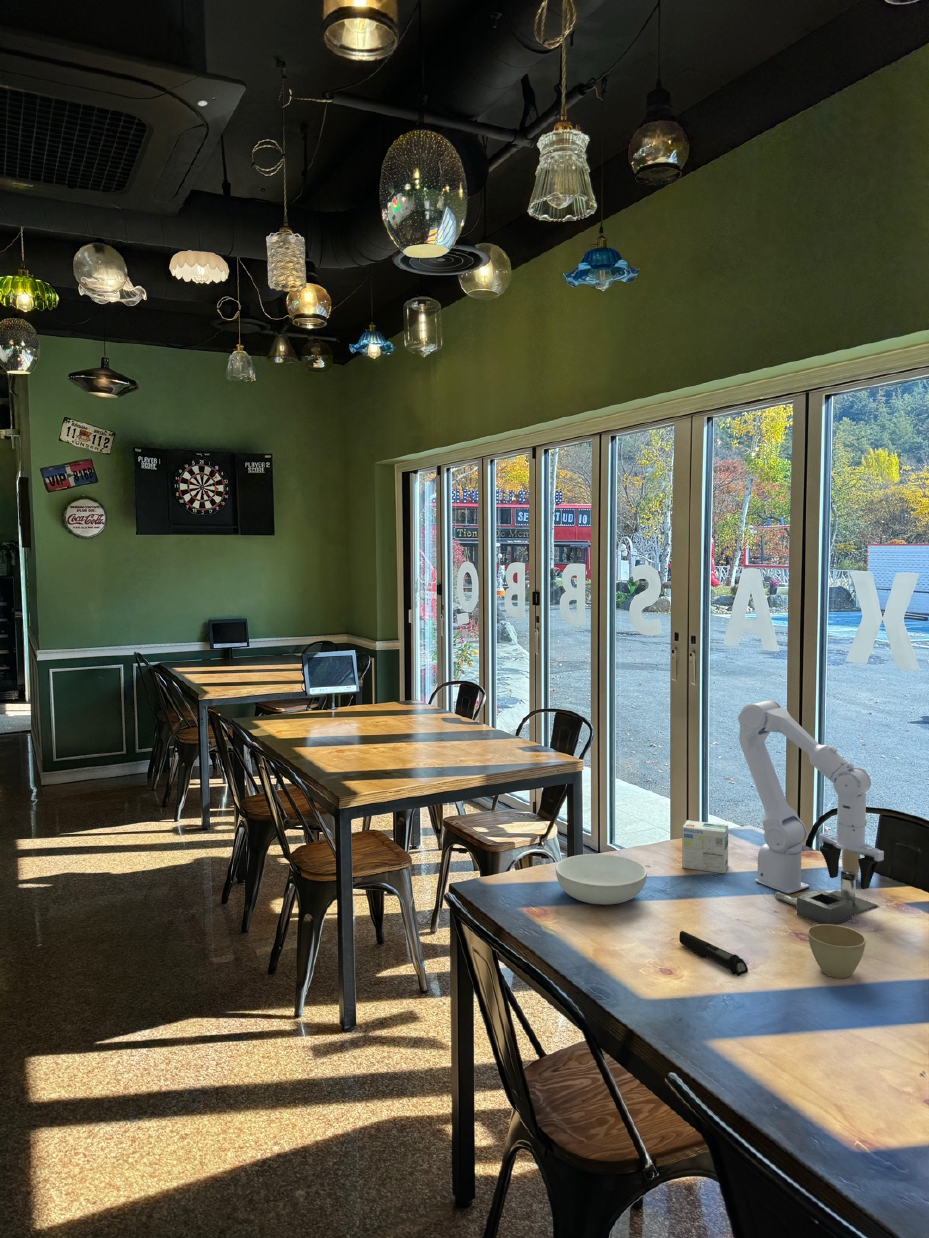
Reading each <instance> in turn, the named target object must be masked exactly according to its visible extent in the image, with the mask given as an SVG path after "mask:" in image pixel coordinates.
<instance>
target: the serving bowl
mask: <svg viewBox="0 0 929 1238" xmlns="http://www.w3.org/2000/svg"><path fill="white" fill-rule="evenodd" d="M555 875H556V878H557V879H556V880H557V882H558V884H559V885H560V887H561V888H562V890H563V891H564V892H565V893H566V894H567V895H569V897H572V898H573V899H576V900H577V901H580V902H584V903H588V904H592V905H593V904H594V905H600V906H601V905H615V904H621V903H625V902H627V901H631V900H632V899H634V898H635V897H636V896H638V895H639V894H640V893H641V892H642V890H643V889H644V887H645V885H646V881H647V876H648V871H647V868H646V867H645V865H643V864H642V863H640V862H639V861H637V860H634V859H632V858H629V857H625V856H621V855H615V854H608V853H605V854H604V853H585V854H578V855H573V856H569V857H568V856H567V857H566V858H564V859H561V860H560V861H558V862H557V863H556V865H555Z"/></svg>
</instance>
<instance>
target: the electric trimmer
mask: <svg viewBox="0 0 929 1238" xmlns="http://www.w3.org/2000/svg"><path fill="white" fill-rule="evenodd" d="M679 943H680V944H681V945H683V946H684V947H686V948H687V949H688V950H690V951H691V952H693V953H694V954H695V955H697V956H698V957H701V958H703V959H706V958H707V959H708V960H711V961H713V962H714V963H716V964H719V966H722V967H723V968H725V969H727V970H729V971H730V973H731V975H733V976H738V977H739V976H742V975H746V974H747V973H748V972H749V968H748V966H747V963H746V962H745V961H744V959H743V958H740V956H739V955H738V954H732V953H730V952H728V951H726V950H724V949H723V948H720V947H718V946H716V945H714V944H712V943H710V942H709V941H705V940H703V939H701V938H699V937H697V936H696V935H695V936H694V935H692V934H690V933H689V932H686V931H684V930H681V931H680V932H679Z"/></svg>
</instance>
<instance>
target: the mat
mask: <svg viewBox="0 0 929 1238" xmlns="http://www.w3.org/2000/svg"><path fill="white" fill-rule="evenodd" d="M829 893H831V894H834V895H837V896H840V897H841V890H837V889H836V890H833V891H830V892H829ZM875 908H878V904H876V903H874V902H872V901H868V900H865V899H862V898H860V897H857V896H855V905H854V906H853V915H852V917H853V916H857V915H858V914H859V915H860V914H862V913H864V912H867V911H869V910H871V909H875Z"/></svg>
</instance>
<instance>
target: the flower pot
mask: <svg viewBox="0 0 929 1238" xmlns="http://www.w3.org/2000/svg"><path fill="white" fill-rule="evenodd" d="M807 938H808V942H809V946H810V950H811V952H812V955H813V957H814V959H815V962H816V963H817V965H818V967H819V968H820V970H821V972H822V973H823V974H825V975H826V976H829V977H832V978H837V979H846V978H848V977H850V976H851V975H852V974H853V973H854V971H855V970H856V969H857V968H858V966H859V964H860V962H861V960H862V958H863V955H864V951H865V948H866V942H867V940H866V936H864V934H862V933H861V932H859V931H857V930H856V929H853V928H850V927H847V926H843V925H840V924H839V925H831V924H815V925H812V926H810V927H809V928H808V929H807Z"/></svg>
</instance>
